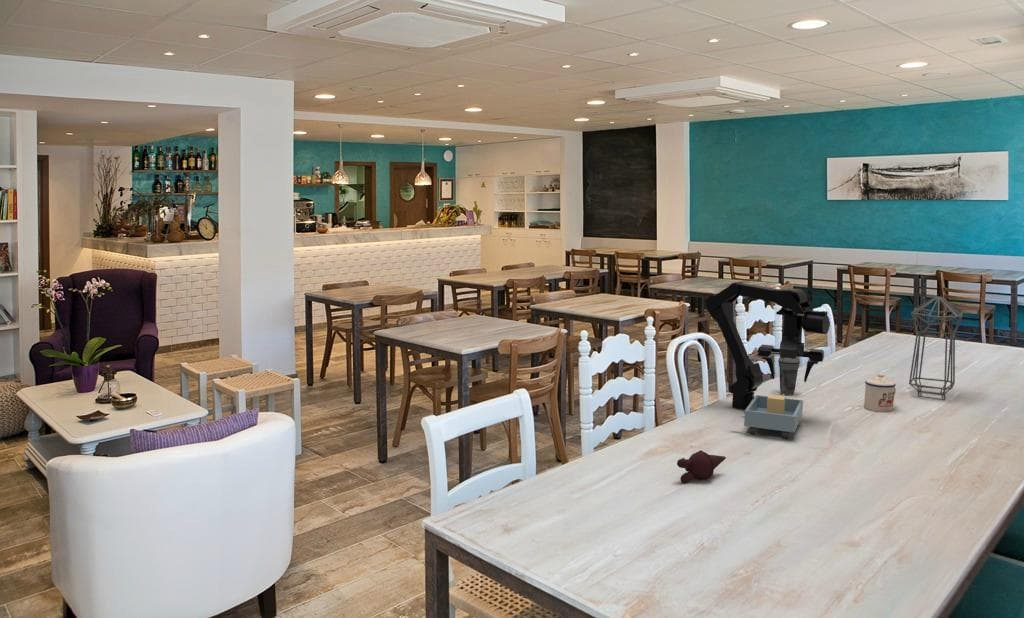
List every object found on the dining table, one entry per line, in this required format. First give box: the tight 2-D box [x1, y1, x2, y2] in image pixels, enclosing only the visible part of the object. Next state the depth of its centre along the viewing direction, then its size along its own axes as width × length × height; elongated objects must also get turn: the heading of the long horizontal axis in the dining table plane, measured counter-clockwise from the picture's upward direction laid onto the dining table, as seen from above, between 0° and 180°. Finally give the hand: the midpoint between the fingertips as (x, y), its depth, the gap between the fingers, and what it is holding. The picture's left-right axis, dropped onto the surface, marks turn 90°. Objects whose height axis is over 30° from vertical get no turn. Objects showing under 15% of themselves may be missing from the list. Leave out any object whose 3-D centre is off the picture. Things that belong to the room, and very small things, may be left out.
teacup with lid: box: [863, 372, 897, 413], centre depth 259 cm, size 12×9×12 cm
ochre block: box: [767, 394, 786, 415], centre depth 231 cm, size 4×4×6 cm
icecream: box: [676, 450, 727, 484], centre depth 195 cm, size 7×7×15 cm
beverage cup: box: [777, 355, 801, 396], centre depth 276 cm, size 7×7×20 cm
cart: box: [743, 394, 804, 439], centre depth 231 cm, size 14×20×7 cm
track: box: [724, 414, 806, 442], centre depth 233 cm, size 20×22×1 cm
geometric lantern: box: [908, 296, 964, 401], centre depth 273 cm, size 16×16×35 cm
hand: (789, 380), depth 243 cm, fingers open, 9 cm apart
